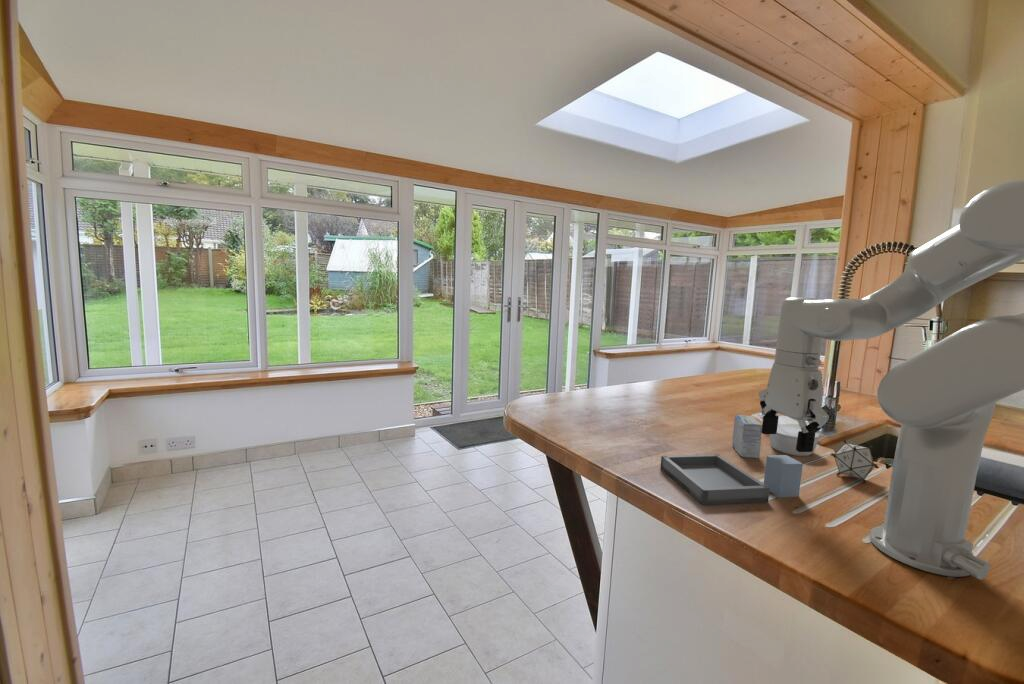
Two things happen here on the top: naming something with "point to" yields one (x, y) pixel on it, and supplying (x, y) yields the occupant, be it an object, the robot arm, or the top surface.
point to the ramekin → (789, 440)
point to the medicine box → (747, 436)
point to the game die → (854, 460)
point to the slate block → (783, 475)
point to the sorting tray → (714, 479)
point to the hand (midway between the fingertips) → (785, 442)
